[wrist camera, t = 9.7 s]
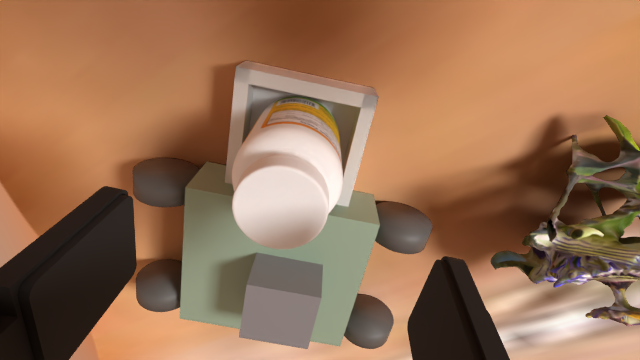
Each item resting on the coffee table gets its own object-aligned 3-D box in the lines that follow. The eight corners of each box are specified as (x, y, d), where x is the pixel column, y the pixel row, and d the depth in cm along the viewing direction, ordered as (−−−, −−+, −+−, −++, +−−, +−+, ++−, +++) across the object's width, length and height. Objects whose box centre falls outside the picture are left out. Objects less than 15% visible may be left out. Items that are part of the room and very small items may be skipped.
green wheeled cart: (463, 107, 23) (513, 145, 16) (383, 314, 31) (396, 393, 24) (150, 39, 22) (74, 52, 15) (151, 272, 30) (101, 344, 23)
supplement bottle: (291, 186, 25) (270, 282, 16) (239, 126, 23) (185, 197, 14) (355, 143, 24) (371, 224, 15) (305, 76, 22) (290, 121, 13)
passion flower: (519, 198, 31) (481, 310, 24) (529, 82, 25) (481, 188, 18) (701, 228, 25) (720, 393, 18) (774, 83, 19) (847, 248, 12)
